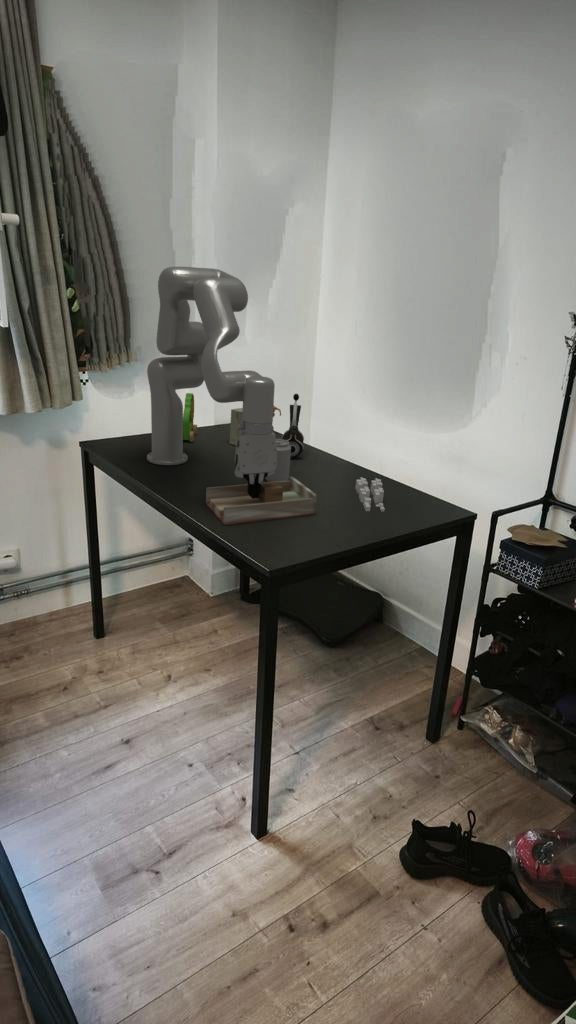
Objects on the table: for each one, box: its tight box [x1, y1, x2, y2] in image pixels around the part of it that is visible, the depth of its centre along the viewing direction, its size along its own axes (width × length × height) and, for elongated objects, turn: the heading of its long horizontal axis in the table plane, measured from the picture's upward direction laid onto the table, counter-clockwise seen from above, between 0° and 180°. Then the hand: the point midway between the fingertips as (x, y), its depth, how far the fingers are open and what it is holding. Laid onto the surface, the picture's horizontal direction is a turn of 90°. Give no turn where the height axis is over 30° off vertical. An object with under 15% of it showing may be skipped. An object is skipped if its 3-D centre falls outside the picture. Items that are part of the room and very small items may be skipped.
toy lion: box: [183, 392, 198, 443], centre depth 222 cm, size 16×5×15 cm, turn 1°
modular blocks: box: [354, 477, 385, 513], centre depth 176 cm, size 20×7×4 cm, turn 2°
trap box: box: [205, 476, 318, 526], centre depth 165 cm, size 15×25×6 cm, turn 115°
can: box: [264, 438, 291, 482], centre depth 186 cm, size 8×8×12 cm
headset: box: [281, 393, 305, 459], centre depth 210 cm, size 17×8×20 cm, turn 178°
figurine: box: [272, 405, 282, 433], centre depth 232 cm, size 8×6×12 cm
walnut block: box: [259, 481, 283, 503], centre depth 165 cm, size 5×5×4 cm
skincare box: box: [229, 407, 243, 446], centre depth 218 cm, size 6×4×12 cm
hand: (253, 496), depth 163 cm, fingers closed
